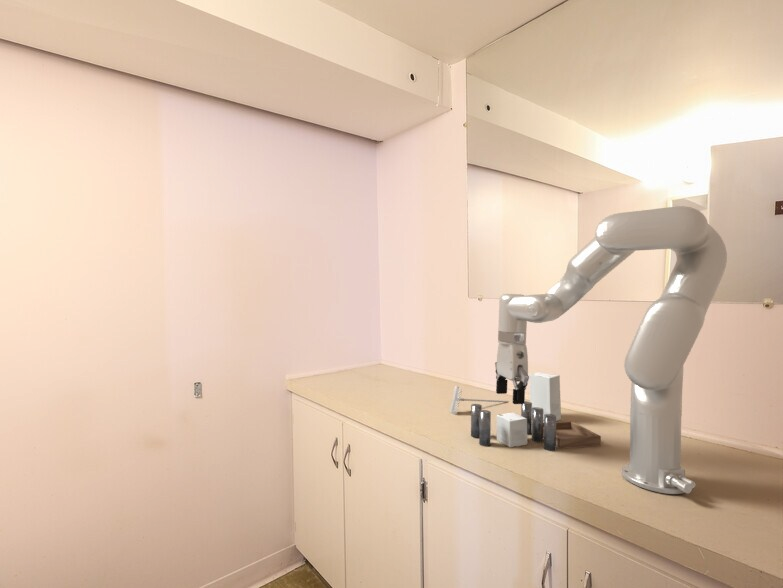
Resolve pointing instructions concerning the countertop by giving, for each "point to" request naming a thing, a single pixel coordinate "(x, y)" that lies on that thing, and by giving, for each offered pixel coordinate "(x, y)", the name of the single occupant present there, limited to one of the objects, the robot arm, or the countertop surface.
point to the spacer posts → (533, 415)
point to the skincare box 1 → (512, 429)
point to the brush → (455, 398)
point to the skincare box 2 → (545, 393)
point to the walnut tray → (574, 435)
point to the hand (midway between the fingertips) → (509, 398)
